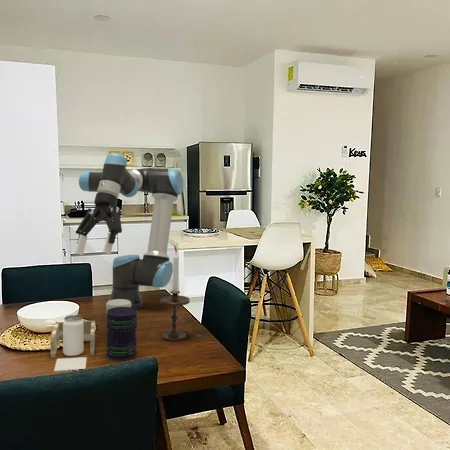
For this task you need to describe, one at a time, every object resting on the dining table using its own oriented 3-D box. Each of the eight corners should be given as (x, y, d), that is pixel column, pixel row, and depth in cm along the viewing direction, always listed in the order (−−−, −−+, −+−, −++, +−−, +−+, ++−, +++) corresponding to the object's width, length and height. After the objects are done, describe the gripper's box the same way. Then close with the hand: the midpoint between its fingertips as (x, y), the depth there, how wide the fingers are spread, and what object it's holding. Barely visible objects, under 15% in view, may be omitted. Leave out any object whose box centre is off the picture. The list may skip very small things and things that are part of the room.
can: (67, 348, 155) (67, 314, 153) (86, 349, 155) (86, 315, 153) (59, 356, 148) (59, 320, 147) (79, 357, 148) (79, 321, 147)
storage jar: (141, 351, 155) (142, 308, 153) (129, 362, 145) (129, 316, 144) (114, 347, 157) (115, 305, 155) (100, 358, 147) (100, 313, 146)
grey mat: (57, 360, 145) (57, 358, 145) (86, 358, 147) (86, 357, 147) (54, 371, 136) (54, 370, 136) (85, 369, 139) (85, 368, 139)
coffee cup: (124, 338, 166) (125, 306, 165) (101, 336, 168) (101, 304, 167) (134, 330, 175) (135, 300, 174) (112, 328, 177) (112, 297, 176)
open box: (55, 341, 161) (55, 322, 160) (95, 339, 164) (95, 320, 164) (50, 358, 146) (50, 336, 146) (93, 355, 150) (94, 334, 149)
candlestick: (159, 342, 164) (161, 246, 160) (159, 332, 174) (161, 241, 171) (189, 341, 165) (192, 246, 162) (187, 331, 176) (190, 242, 172)
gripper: (75, 194, 163) (59, 250, 156) (125, 187, 150) (110, 248, 143) (91, 202, 169) (76, 257, 162) (140, 196, 156) (127, 256, 149)
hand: (92, 253), depth 153 cm, fingers open, 13 cm apart
